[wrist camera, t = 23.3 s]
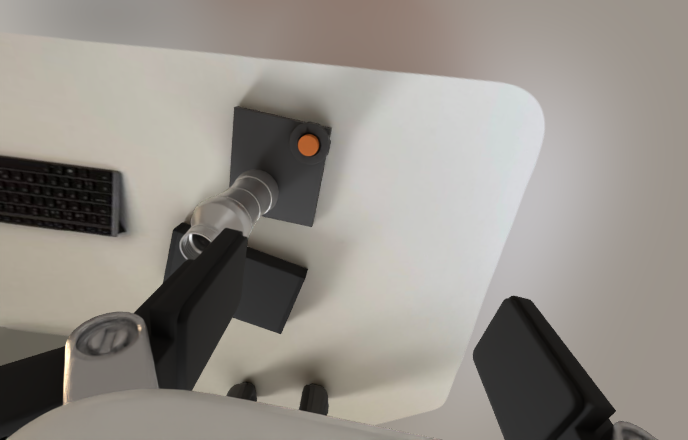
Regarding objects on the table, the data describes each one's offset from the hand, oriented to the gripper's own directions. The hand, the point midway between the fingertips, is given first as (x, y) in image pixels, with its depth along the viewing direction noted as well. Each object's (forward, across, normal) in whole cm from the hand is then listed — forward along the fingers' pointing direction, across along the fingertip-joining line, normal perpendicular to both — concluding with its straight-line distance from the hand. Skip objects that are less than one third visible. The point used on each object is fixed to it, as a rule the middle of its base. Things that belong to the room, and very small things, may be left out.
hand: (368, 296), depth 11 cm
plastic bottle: (+36, +14, +12) cm, 40 cm away
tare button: (+34, +7, +3) cm, 35 cm away
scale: (+37, +12, +9) cm, 40 cm away
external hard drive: (+37, +16, +31) cm, 51 cm away
